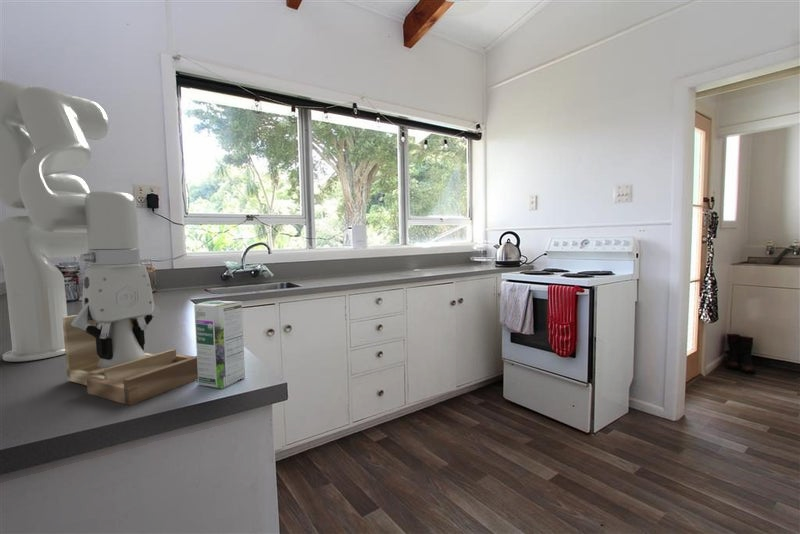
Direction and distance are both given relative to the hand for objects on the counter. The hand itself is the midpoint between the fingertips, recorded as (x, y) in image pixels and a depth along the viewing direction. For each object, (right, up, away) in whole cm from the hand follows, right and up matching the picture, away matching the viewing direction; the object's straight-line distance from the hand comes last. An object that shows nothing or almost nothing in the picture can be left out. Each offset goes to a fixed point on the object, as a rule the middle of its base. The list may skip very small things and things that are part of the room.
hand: (122, 353), depth 70 cm
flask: (0, -2, 0) cm, 2 cm away
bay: (+9, -4, -4) cm, 11 cm away
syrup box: (+21, -4, -4) cm, 22 cm away
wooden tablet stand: (0, -4, 0) cm, 4 cm away
